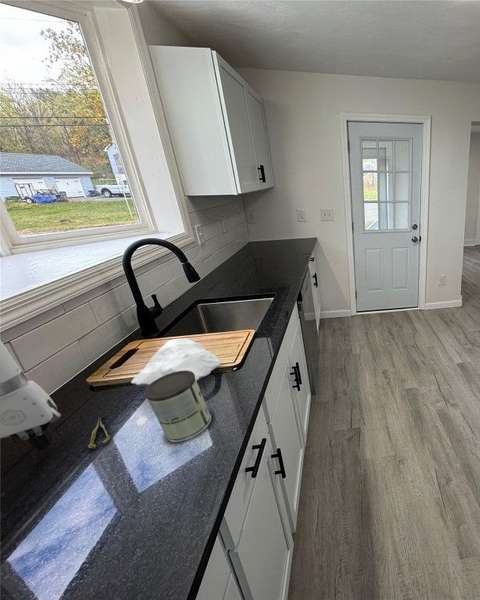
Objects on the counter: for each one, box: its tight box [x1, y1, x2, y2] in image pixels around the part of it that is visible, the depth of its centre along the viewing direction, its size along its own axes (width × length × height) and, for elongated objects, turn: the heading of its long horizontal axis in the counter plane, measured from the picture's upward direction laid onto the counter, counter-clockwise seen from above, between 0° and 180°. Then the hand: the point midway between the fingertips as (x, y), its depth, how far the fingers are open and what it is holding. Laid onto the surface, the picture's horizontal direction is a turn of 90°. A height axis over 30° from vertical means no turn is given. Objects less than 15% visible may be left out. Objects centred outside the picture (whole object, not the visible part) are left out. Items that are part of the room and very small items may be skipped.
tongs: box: [87, 416, 111, 449], centre depth 81 cm, size 4×13×2 cm, turn 46°
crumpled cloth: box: [130, 338, 222, 386], centre depth 102 cm, size 24×35×9 cm
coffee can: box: [143, 371, 212, 443], centre depth 79 cm, size 10×10×14 cm
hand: (45, 445), depth 77 cm, fingers closed
